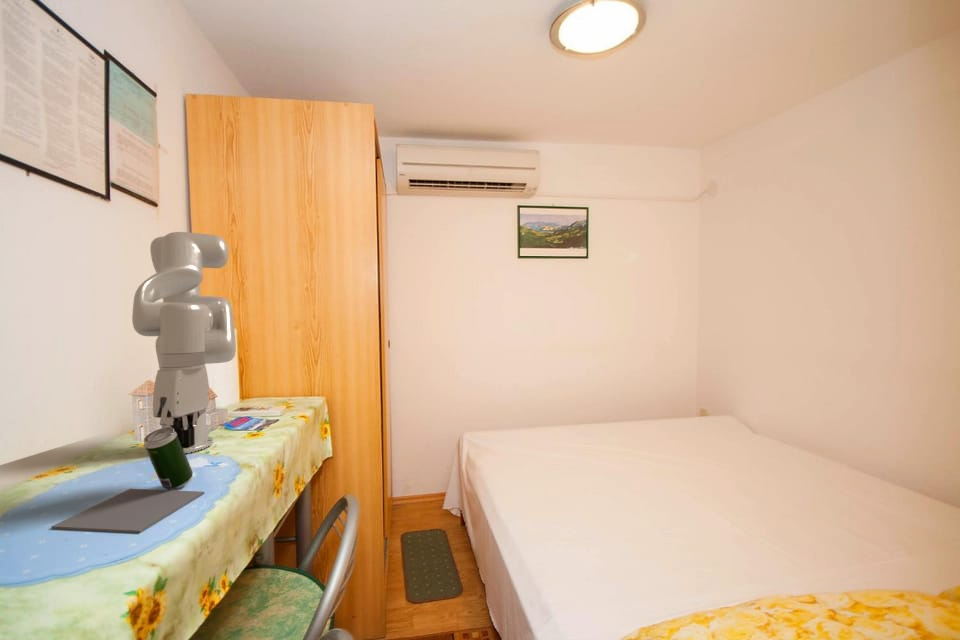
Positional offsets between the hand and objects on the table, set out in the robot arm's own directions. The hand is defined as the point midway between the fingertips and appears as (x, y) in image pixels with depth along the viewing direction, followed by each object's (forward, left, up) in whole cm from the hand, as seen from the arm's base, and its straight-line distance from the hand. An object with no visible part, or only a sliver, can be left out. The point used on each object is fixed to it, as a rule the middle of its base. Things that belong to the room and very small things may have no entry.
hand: (184, 446), depth 84 cm
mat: (+11, 0, -8) cm, 14 cm away
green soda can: (+1, 0, -7) cm, 7 cm away
